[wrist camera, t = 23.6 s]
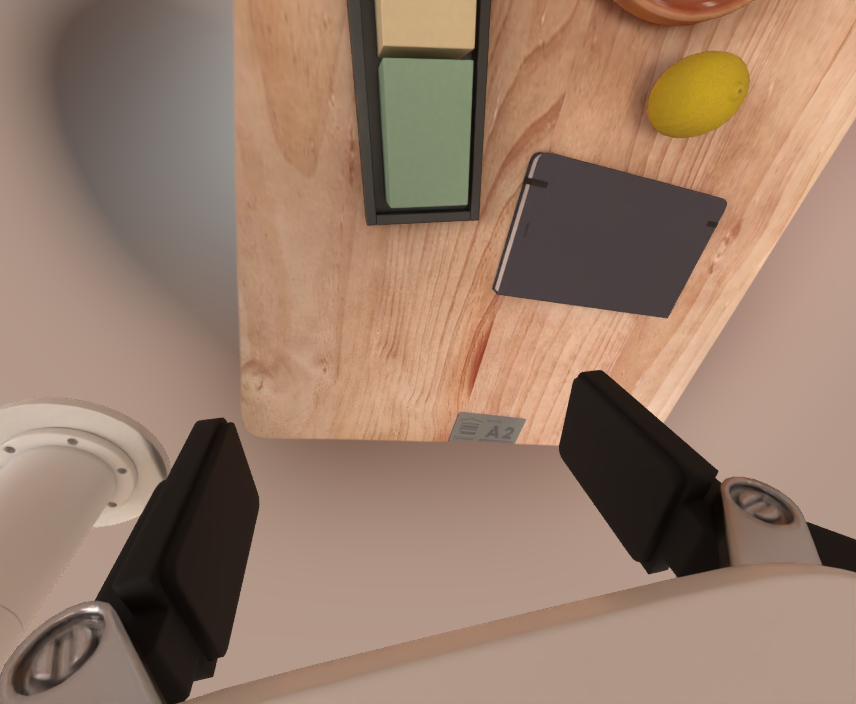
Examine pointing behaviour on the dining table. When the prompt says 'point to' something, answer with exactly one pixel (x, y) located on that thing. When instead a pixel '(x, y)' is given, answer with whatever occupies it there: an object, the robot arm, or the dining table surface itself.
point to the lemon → (698, 94)
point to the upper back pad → (425, 28)
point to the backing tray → (370, 121)
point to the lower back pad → (425, 130)
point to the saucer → (680, 10)
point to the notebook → (603, 238)
